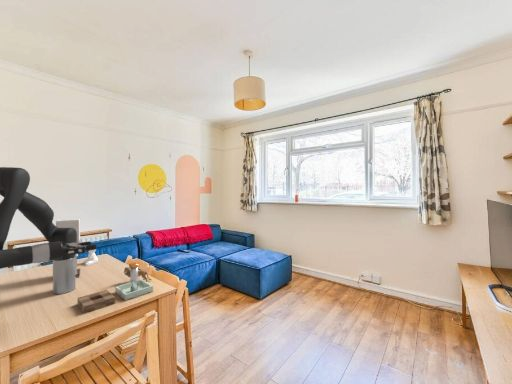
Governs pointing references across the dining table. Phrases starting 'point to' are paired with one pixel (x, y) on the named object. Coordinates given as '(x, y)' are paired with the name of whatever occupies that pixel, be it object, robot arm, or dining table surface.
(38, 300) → the dining table surface
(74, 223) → the tall grey pillar
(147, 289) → the tray
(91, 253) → the sitting furry creature
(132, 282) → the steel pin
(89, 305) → the block
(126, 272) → the lion figurine
